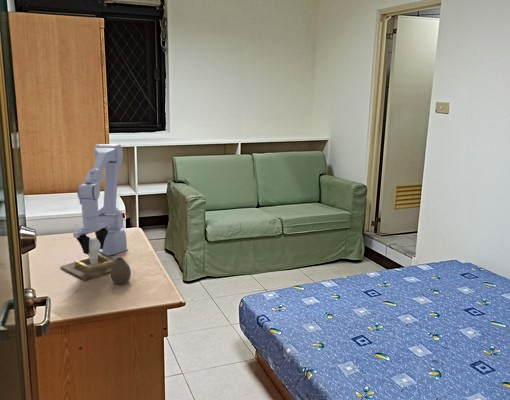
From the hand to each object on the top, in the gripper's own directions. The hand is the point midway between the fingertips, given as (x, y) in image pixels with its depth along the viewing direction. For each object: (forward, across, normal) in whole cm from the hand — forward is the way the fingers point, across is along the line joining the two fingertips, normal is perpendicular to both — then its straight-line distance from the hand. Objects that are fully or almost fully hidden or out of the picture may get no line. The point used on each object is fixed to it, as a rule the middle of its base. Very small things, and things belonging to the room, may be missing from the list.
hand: (93, 251), depth 184 cm
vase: (+7, +4, +19) cm, 20 cm away
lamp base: (+7, 0, 0) cm, 7 cm away
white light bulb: (+6, 0, 0) cm, 6 cm away
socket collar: (+7, 0, 0) cm, 7 cm away
